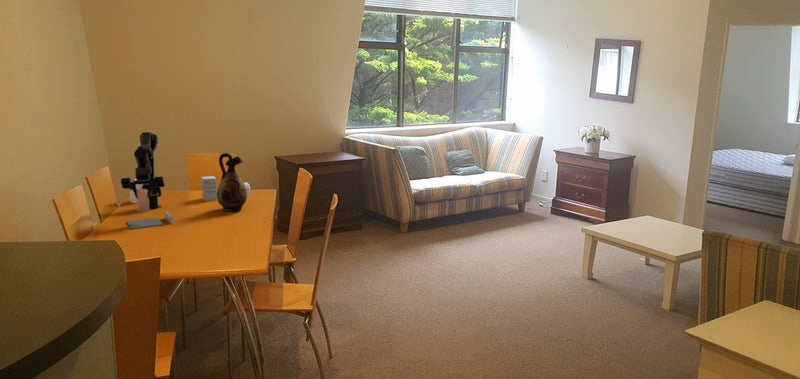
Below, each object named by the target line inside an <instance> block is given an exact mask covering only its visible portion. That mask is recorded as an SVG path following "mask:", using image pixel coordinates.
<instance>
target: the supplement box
mask: <svg viewBox="0 0 800 379" xmlns="http://www.w3.org/2000/svg"><path fill="white" fill-rule="evenodd" d="M200 179H201V181H200V183H201V196H202V197H201V198H202V199H203V201H204V202H209V201H218V200H217V189H218V187H217V178H216V177H215V176H214V175H209V176H208V175H207V176H200Z"/></svg>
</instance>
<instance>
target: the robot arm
mask: <svg viewBox="0 0 800 379" xmlns="http://www.w3.org/2000/svg"><path fill="white" fill-rule="evenodd" d="M139 143H140V145H139V146H137V147H136V150H135V151H134V152H133V154H134V155H133V156H134V159H135V162H136V164H137V167H135V169H134V172H135V179H137V180H134V179H131V177H122V178H121V179H120V184H121V187H122V189H124V190H125V189H126V190H127V189H129V190H130V191H131V190H133V192H134V194H135V197H136V198H137V188H136V184H137V185H141V184H143V186H142V189H148V198H149V209H150V210H156V209H159V208H160V207H162V205H159V198H160V197H162V189H161V188H164V187H165V179H164V178H165V177H164V176H159V175H158V176H155V151H156V149H158V148H157V147H158V144H159V137H158V135H157V134H154V133H153V132H151V131H147V132H146V131H145V132H144V131H143V132H141V134H140V135H139Z"/></svg>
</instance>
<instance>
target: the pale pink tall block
mask: <svg viewBox="0 0 800 379" xmlns="http://www.w3.org/2000/svg"><path fill="white" fill-rule="evenodd" d="M137 202H138V203H137V211H138V212H148V211H149V212H150V210H151V209H149V198H148V189H137Z"/></svg>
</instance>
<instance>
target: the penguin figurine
mask: <svg viewBox="0 0 800 379" xmlns="http://www.w3.org/2000/svg"><path fill="white" fill-rule="evenodd" d="M243 183H244V185H245V187H246V191H247V198H249V196H250V193H251V186H250V184H249V182H243Z"/></svg>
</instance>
